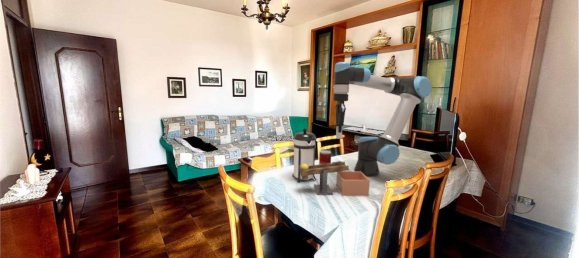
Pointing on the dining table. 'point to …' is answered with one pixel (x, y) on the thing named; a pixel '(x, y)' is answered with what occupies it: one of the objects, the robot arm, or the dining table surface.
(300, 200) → the dining table surface
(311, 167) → the tipping chute
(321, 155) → the canned food
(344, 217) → the dining table surface
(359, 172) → the brown cardboard box
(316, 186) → the chute stand
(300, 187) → the dining table surface
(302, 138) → the coffee press
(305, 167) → the ball
